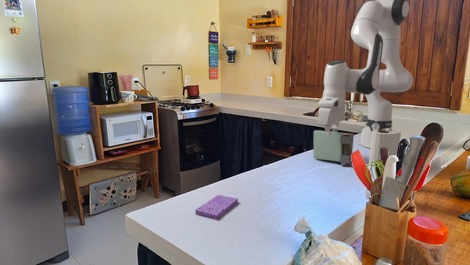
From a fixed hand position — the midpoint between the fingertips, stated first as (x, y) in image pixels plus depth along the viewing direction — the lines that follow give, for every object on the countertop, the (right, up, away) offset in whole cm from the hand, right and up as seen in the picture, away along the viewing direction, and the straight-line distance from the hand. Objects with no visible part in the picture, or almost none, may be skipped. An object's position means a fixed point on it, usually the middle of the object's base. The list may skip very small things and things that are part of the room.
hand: (331, 133), depth 132 cm
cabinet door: (+1, -11, +2) cm, 11 cm away
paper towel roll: (+4, -20, -35) cm, 40 cm away
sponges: (-46, -22, -41) cm, 66 cm away
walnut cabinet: (+4, -12, +6) cm, 14 cm away
